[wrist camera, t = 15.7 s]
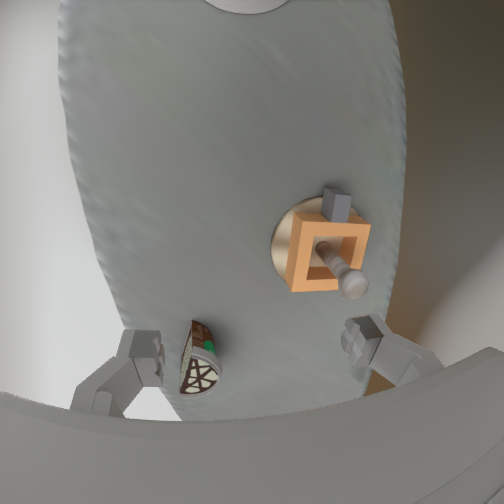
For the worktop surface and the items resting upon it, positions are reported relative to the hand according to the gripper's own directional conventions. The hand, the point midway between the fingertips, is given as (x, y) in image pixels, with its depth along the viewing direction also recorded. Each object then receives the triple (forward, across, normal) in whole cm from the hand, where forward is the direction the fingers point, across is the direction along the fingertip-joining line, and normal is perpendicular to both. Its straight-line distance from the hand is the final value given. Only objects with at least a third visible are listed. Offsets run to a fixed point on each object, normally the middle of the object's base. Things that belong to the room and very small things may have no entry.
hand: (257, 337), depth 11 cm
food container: (+30, +4, +29) cm, 42 cm away
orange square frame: (+28, -16, +7) cm, 33 cm away
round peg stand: (+30, -16, +9) cm, 35 cm away
